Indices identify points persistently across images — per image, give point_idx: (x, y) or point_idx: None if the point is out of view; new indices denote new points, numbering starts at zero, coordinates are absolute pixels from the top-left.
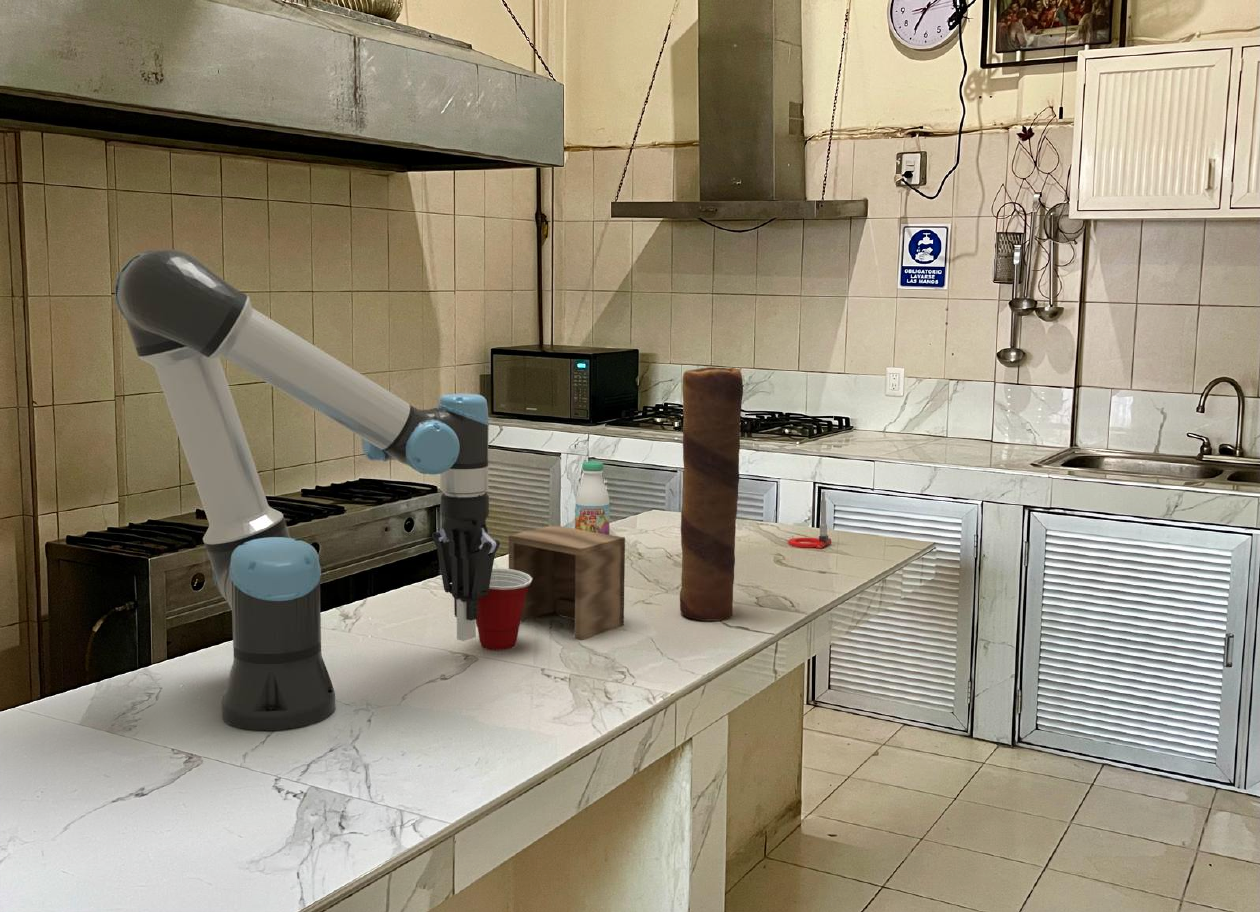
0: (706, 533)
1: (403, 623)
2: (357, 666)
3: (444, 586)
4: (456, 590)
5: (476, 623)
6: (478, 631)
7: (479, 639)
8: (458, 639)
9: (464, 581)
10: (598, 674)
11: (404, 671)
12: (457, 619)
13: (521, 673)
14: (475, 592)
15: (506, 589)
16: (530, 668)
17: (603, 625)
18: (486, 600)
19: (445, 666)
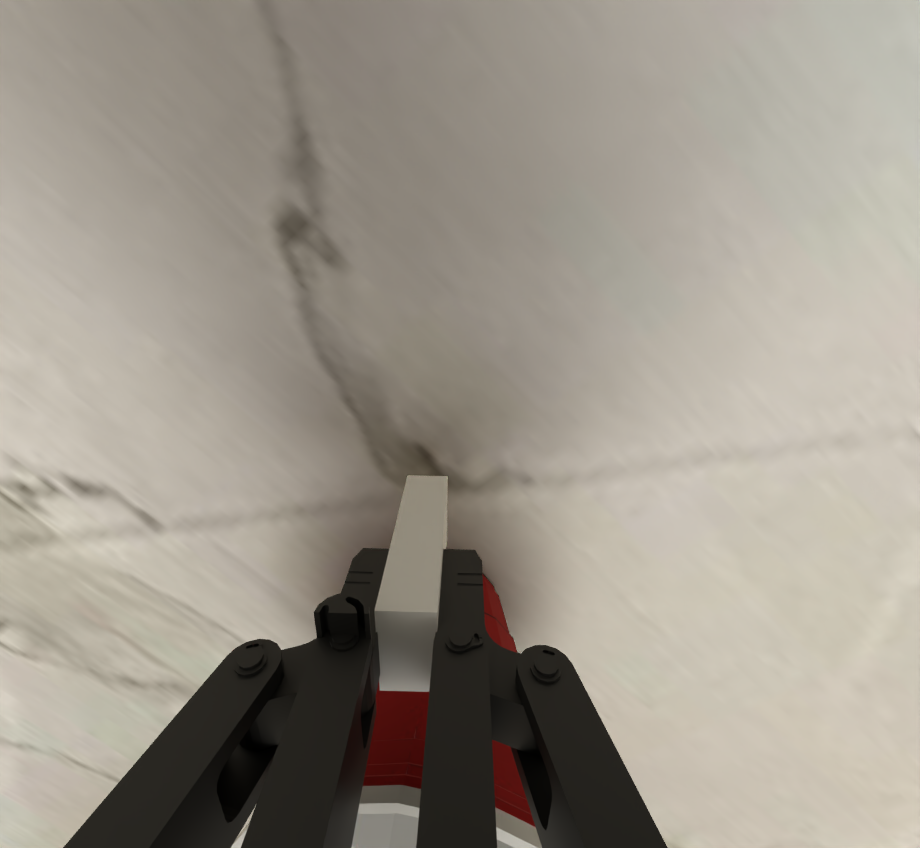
0: None
1: (880, 595)
2: (731, 79)
3: (573, 683)
4: (440, 671)
5: (494, 625)
6: (486, 603)
7: (485, 584)
8: (438, 476)
9: (331, 759)
10: (5, 576)
11: (494, 181)
12: (439, 530)
13: (155, 452)
14: (228, 682)
15: (249, 823)
16: (182, 505)
17: None
18: (378, 715)
19: (410, 344)
